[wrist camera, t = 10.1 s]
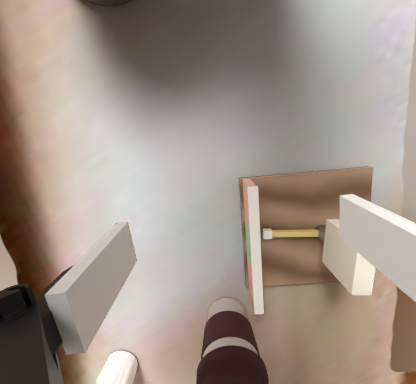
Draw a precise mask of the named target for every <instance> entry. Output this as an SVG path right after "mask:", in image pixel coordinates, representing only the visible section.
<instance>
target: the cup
mask: <svg viewBox="0 0 416 384" xmlns="http://www.w3.org/2000/svg"><path fill="white" fill-rule="evenodd" d="M137 367H138V363H137V359H136V358H135V356H134V355H132V354H131V353H129V352H126V351H116V352H113V353H112V354H111V355H110V356H109V357H108V359H107V361H106V363H105V365H104V367H103V369H102V371H101V373H100V375H99V377H98V379H97V381H96V383H95V384H133V382H134V378H135V374H136V371H137Z"/></svg>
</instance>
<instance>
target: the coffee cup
mask: <svg viewBox="0 0 416 384" xmlns="http://www.w3.org/2000/svg"><path fill="white" fill-rule="evenodd" d="M268 382H269V381H268V374H267V370H266V366H265V364H264V362H263V360H262V359H261V358H260V356H259V351H258V348H257V344H256V341H255V337H254V334H253V331H252V327H251V324H250V322H249V321H248V318H247V314H246V311H245V308H244V307H243V305H242V304H241V303H240V302H239V301H237V300H235V299H233V298H221V299H218V300H216V301H215V302H213V303H212V305H211V306H210V308H209V310H208V315H207V323H206V326H205V331H204V339H203V347H202V355H201V361H200V363H199V366H198V369H197V384H268Z"/></svg>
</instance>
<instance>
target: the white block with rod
mask: <svg viewBox="0 0 416 384" xmlns="http://www.w3.org/2000/svg"><path fill="white" fill-rule="evenodd" d="M339 221H340V219H326V227H325V226H323V225H318V226H317V227H316V228H315V229H308V230H271V229H262V237H263V239H272V237H319V238H320V239H321V240H322V241H323V242H324V248H323V257H322V262H323V263H324V264H325V266H326V267H327V268H328V269H329V270H330V271H331V272H332V274H333V275H334V276H335V277H336V278H337V279H338V280H339V282H340V283H341V284H342V285H343V286H344V287H345V288H346V290H347V291H348V292H349V293H350V294H351V295H371V293H372V287H373V281H374V274H375V267H374V266H373V265H372V264H370V263H369V262H368V261H367V260H366V259H365V258H363V257H362V256H361V255H360V254H359V253H358V252H356V251H355V250H354V249H353V248H352V247H351V246H349V245H348V244H347V243H346V242H345V241H344V240H342V239H341V238H340V237H339Z"/></svg>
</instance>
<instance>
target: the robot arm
mask: <svg viewBox="0 0 416 384" xmlns="http://www.w3.org/2000/svg"><path fill="white" fill-rule="evenodd" d="M88 1H90V2H93V3H95V4H99V5H105V6H114V5H120V4H124V3H126V2H129V1H131V0H88ZM339 237H340V238H341V239H342V240H344V241H345V242H346V243H347V244H348V245H349V246H351V247H352V248H353V249H354V250H355V251H356V252H358V253H359V254H360V255H361V256H362V257H363V258H365V259H366V260H367V261H368V262H369V263H370V264H372V265H373V266H374V267H375V268H376V269H377V270H379V271H380V272H381V273H382V274H383V275H385V276H386V277H387V278H388V279H389V280H390V281H392V282H393V283H394V284H395V285H396V286H397V287H399V288H400V289H401V290H402V291H403V292H405V293H406V294H407V295H408V296H409V297H410V298H411V299H413V300H414V301H415V302H416V223H414V222H412V221H410V220H407V219H405V218H403V217H401V216H399V215H397V214H395V213H392V212H390V211H388V210H386V209H384V208H382V207H380V206H378V205H375V204H373V203H371V202H369V201H367V200H365V199H363V198H360V197H358V196H356V195H354V194H348V195H340V221H339ZM136 261H137V258H136V254H135V250H134V246H133V242H132V238H131V234H130V229H129V225H128V222H122V223H116V224H115V225H114V226H113V227H112V228H111V229H110V230H109V231H108V232H107V233H106V234H105V235H104V236H103V237H102V238H101V239H100V240H99V241H98V242H97V243H96V244H95V245H94V246H93V247H92V248H91V249H90V250H89V251H88V252H87V253H86V254H85V255H84V256H83V257H82V258H81V259H80V260H79V261H78V262H77V263H76V264H75V265H73V266H71V267H70V268H68V269H67V270H65V271H63V272H62V273H61V274H60V275H59V276H58V277H57V278H56V280H54V281H53V282H52V283H51V284H50V286H48V287H47V288H46V289H45V290H44V291H43V292H42V293H41V294H40V295H39V296H38V297H37V298H36V299H35V298H34V295H33V292H32V290H31V287H30V286H29V284H18V285H14V286H11V287H9V288H6V289H4V290H2V291H0V384H64V383H63V379H62V374H61V370H60V365H59V360H58V357H57V355H56V350H57V349H58V347H59V346H60V345H61V343H62V344H63V347H64V349H65V352H66V355H68V354H78V353H86V351H87V349H88V347H89V345H90V344H91V342H92V340H93V338H94V336H95V335H96V333H97V331H98V329H99V328H100V326H101V324H102V322H103V320H104V319H105V317H106V315H107V313H108V311H109V310H110V308H111V306H112V304H113V302H114V301H115V299H116V297H117V295H118V294H119V292H120V290H121V288H122V286H123V285H124V283H125V281H126V279H127V277H128V276H129V274H130V272H131V270H132V268H133V267H134V265H135V263H136Z"/></svg>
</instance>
